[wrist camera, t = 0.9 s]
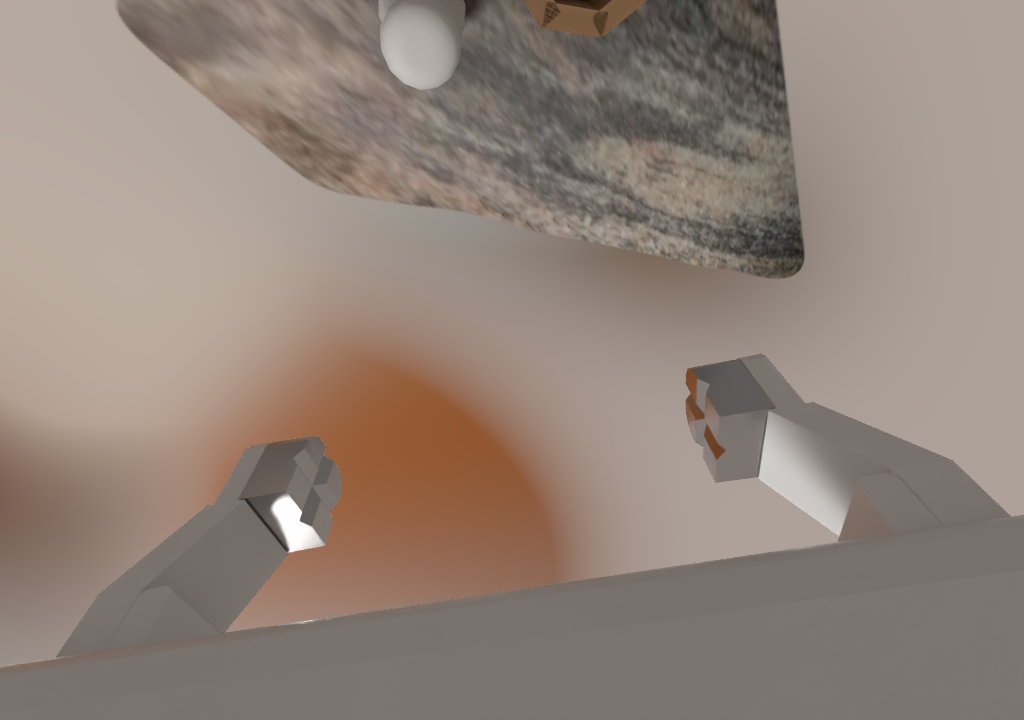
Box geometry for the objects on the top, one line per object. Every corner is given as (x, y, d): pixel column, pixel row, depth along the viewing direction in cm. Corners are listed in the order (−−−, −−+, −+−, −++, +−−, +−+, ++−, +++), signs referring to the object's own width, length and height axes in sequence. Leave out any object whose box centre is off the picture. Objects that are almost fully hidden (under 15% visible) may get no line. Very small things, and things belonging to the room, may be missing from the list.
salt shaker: (474, -25, 34) (493, 11, 25) (450, 63, 37) (459, 123, 28) (389, -66, 32) (375, -43, 23) (372, 32, 35) (355, 86, 26)
